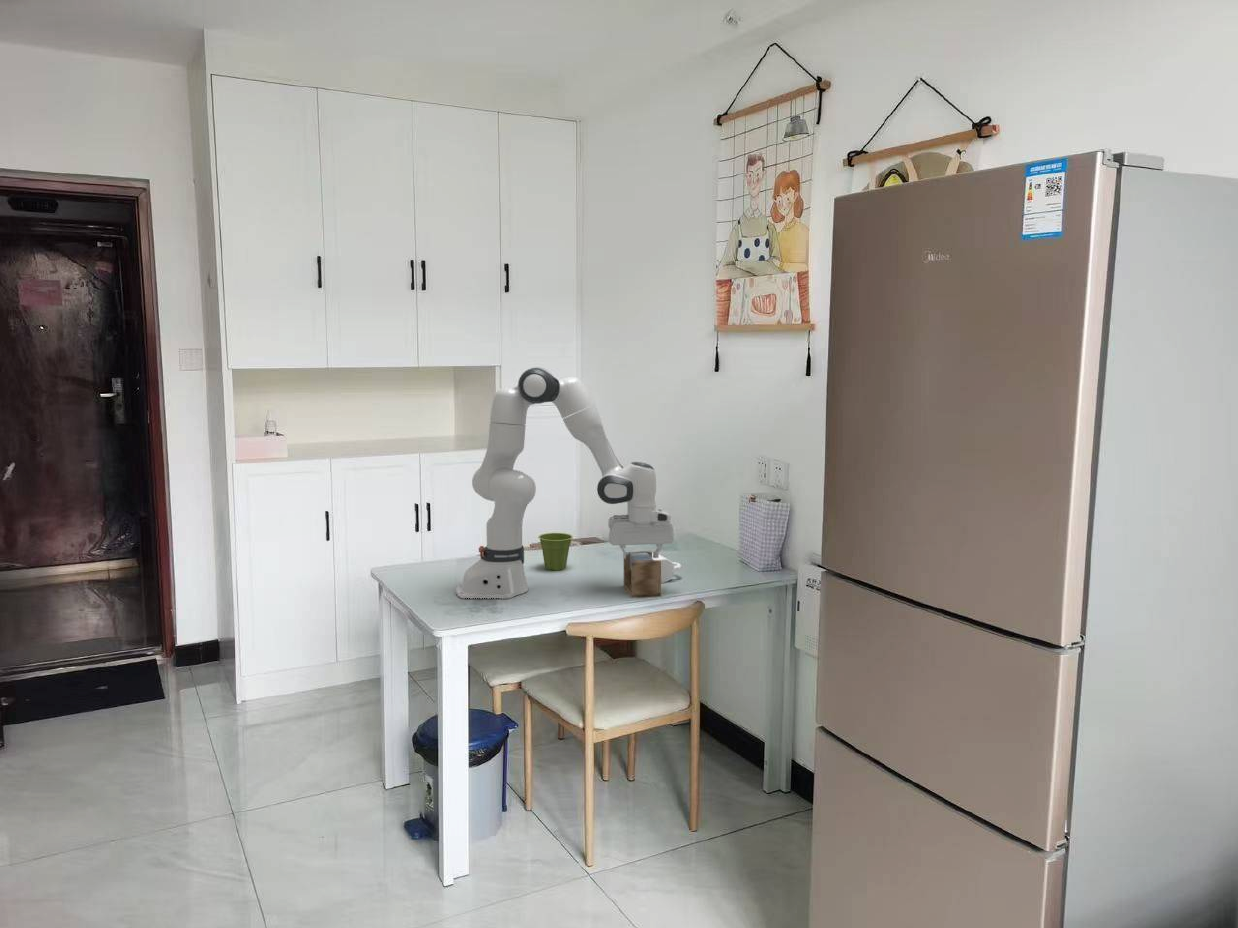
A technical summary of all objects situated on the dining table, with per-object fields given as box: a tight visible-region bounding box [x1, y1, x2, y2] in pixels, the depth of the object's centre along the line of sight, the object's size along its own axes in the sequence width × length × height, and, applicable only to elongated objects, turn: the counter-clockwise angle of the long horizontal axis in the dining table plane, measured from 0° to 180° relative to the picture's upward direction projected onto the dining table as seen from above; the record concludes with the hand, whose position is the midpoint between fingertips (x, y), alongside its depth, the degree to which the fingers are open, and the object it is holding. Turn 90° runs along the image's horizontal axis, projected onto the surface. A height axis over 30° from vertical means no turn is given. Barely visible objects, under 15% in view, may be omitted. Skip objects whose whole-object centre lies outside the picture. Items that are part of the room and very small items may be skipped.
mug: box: [652, 551, 682, 584], centre depth 298 cm, size 12×10×8 cm
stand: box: [623, 550, 662, 599], centre depth 283 cm, size 9×14×11 cm, turn 11°
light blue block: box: [630, 553, 653, 570], centre depth 283 cm, size 6×10×5 cm, turn 11°
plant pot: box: [537, 532, 574, 571], centre depth 311 cm, size 12×12×11 cm
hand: (640, 558), depth 282 cm, fingers open, 8 cm apart
